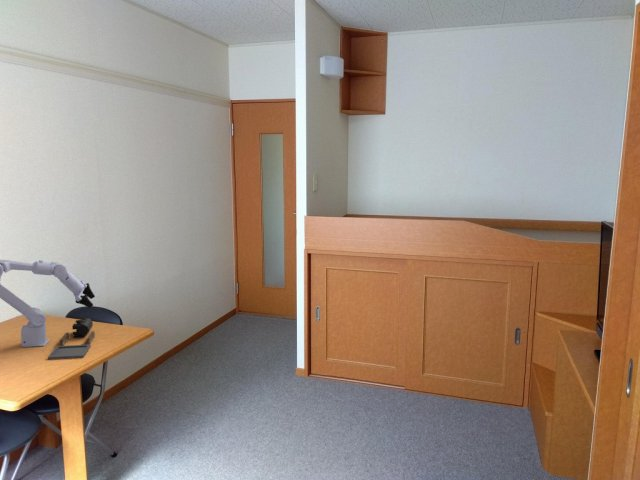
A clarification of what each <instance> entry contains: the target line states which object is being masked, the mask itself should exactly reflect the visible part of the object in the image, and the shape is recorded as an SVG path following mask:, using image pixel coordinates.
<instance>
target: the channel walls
mask: <svg viewBox="0 0 640 480" xmlns="http://www.w3.org/2000/svg"><path fill="white" fill-rule="evenodd" d="M95 335H96V334H95V331H91V332H89V335H88V336H87V338H86V345H89V344H92V342H93V341H94V339H95V337H96V336H95ZM69 339H70V333H69V331H68V332H65V333H64V335H63V336H62V337H61V338H60V339H59V346H65V345H66V343H67V342H68V341H69Z"/></svg>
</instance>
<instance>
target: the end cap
mask: <svg viewBox="0 0 640 480" xmlns="http://www.w3.org/2000/svg"><path fill="white" fill-rule="evenodd" d="M74 322H75V323H73V324H72V330H75V331H72V336H73V339H80V338H81V339H82V338H85V337H86V336H87V335H88V334H90V331H91V329H92V327H93V325H94V324H93V321H92V319H90V318H88V317H86V318H84V319H77V320H76V319H75V321H74Z"/></svg>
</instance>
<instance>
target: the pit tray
mask: <svg viewBox="0 0 640 480" xmlns="http://www.w3.org/2000/svg"><path fill="white" fill-rule="evenodd" d="M91 344H92V343H91ZM91 344H89V345H87V344H75V345H74V344H73V345H71V344H70V345H64V346H60V345H56V346H55V348H54V349H53V350H52V351H51V352H50V354H49V355H48V356H47V360H63V359H80V358H82V359H83V358H85V357H86V354H87V353H88V352H89V349H90V348H91V347H92V346H91Z"/></svg>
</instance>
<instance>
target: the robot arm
mask: <svg viewBox="0 0 640 480" xmlns="http://www.w3.org/2000/svg"><path fill="white" fill-rule="evenodd" d="M13 270H15V271H28V272H29V271H31V272H32V273H33V274H34V275H41V276H54V277H55V278H57V279H58V280H59V282H61V283H62V284H63V286H64V287H66V289H68V290H69V291H70V292H71V293H72V294H73V296H74V300H75V303H76V304H80V305H82V306H85V307H86V308H89V309H91V308H92V307H93V306H94V304H93V302H91V300H93V299H94V298H95V297H96V296H95V293H94V292H93V290H92V289H91V287H90V283H89V282H87V283H85V281H84V280H79V279H78V278H77V277H76V276H75V275H73V274H72V273H71V272H70V271H69V270H68V269H67V267H66V266H64V265H63V264H61V263H59V262H53V261H51V262H46V261H43V259H41V260H39V261H38V260H36V261H34V262H33V263H29V262H22V261H16V260H9V259H0V280H1V279H2V276H3V274H4V273H5V274H6V273H8V272H9V271H13ZM0 299H1V300H2V301H3V302H4V303H6V304H8V305H9V306H11V308H13V309H15V310H16V311H17V312H19V313H20V314H22V316H24V317H25V318H26V320H27V321H28V322H27V324H23V325H22V327H21V329H20V337H21V347H20V348H27V347H28V348H29V347H45V345H47V344H48V342H49V341H50V338H47V330H46V329H47V328H46V326H47V325H46V321H47V316H46V315H45V314H44V313H43V312H42V311H41V310H40V309H39V308H36V307H33V306H31V305H30V304H28V303H27V302H26V301H24V300H23V299H21V298H20V297H19V296H18V295H16V294H15V293H14V292H12V291H10V290H9V289H8V288H7V287H6V286H5V285H3V284H2V283H0ZM90 299H91V300H90Z"/></svg>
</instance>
